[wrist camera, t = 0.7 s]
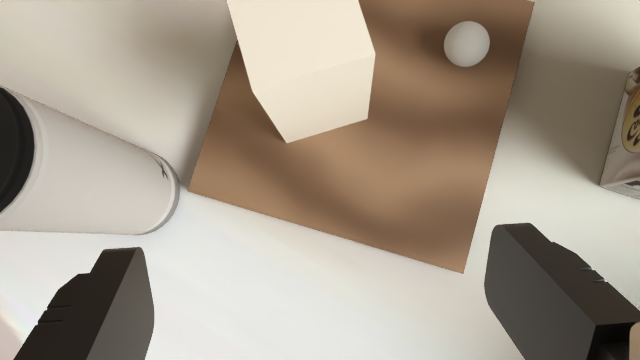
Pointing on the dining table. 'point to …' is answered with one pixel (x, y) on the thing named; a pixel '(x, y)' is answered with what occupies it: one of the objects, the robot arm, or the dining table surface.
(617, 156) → the coffee box
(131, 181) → the travel mug
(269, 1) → the cream tall block
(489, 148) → the board
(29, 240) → the dining table surface
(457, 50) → the grey ball
